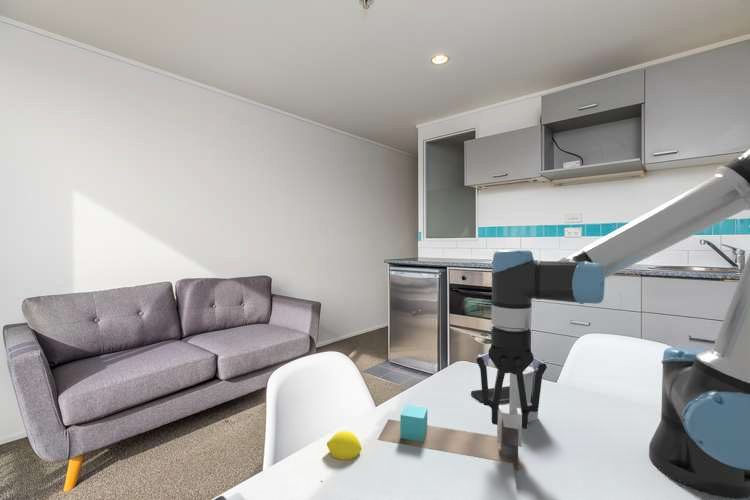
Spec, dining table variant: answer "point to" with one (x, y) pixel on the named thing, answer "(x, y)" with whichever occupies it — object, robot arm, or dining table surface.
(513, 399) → the skincare box
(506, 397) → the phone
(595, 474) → the dining table surface
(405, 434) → the teal block
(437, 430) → the walnut strip
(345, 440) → the lemon
